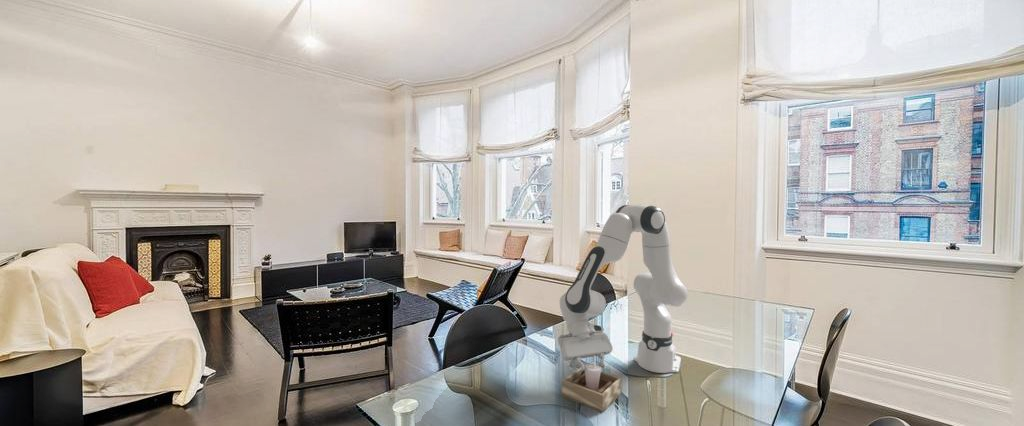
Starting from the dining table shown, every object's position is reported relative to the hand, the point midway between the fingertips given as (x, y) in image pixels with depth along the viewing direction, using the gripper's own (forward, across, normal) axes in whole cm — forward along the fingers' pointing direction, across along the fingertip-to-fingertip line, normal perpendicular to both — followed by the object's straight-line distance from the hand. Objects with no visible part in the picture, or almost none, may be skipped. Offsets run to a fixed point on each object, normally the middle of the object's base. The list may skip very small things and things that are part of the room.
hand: (593, 368), depth 145 cm
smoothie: (+6, 0, +7) cm, 10 cm away
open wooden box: (+7, 0, +8) cm, 10 cm away
